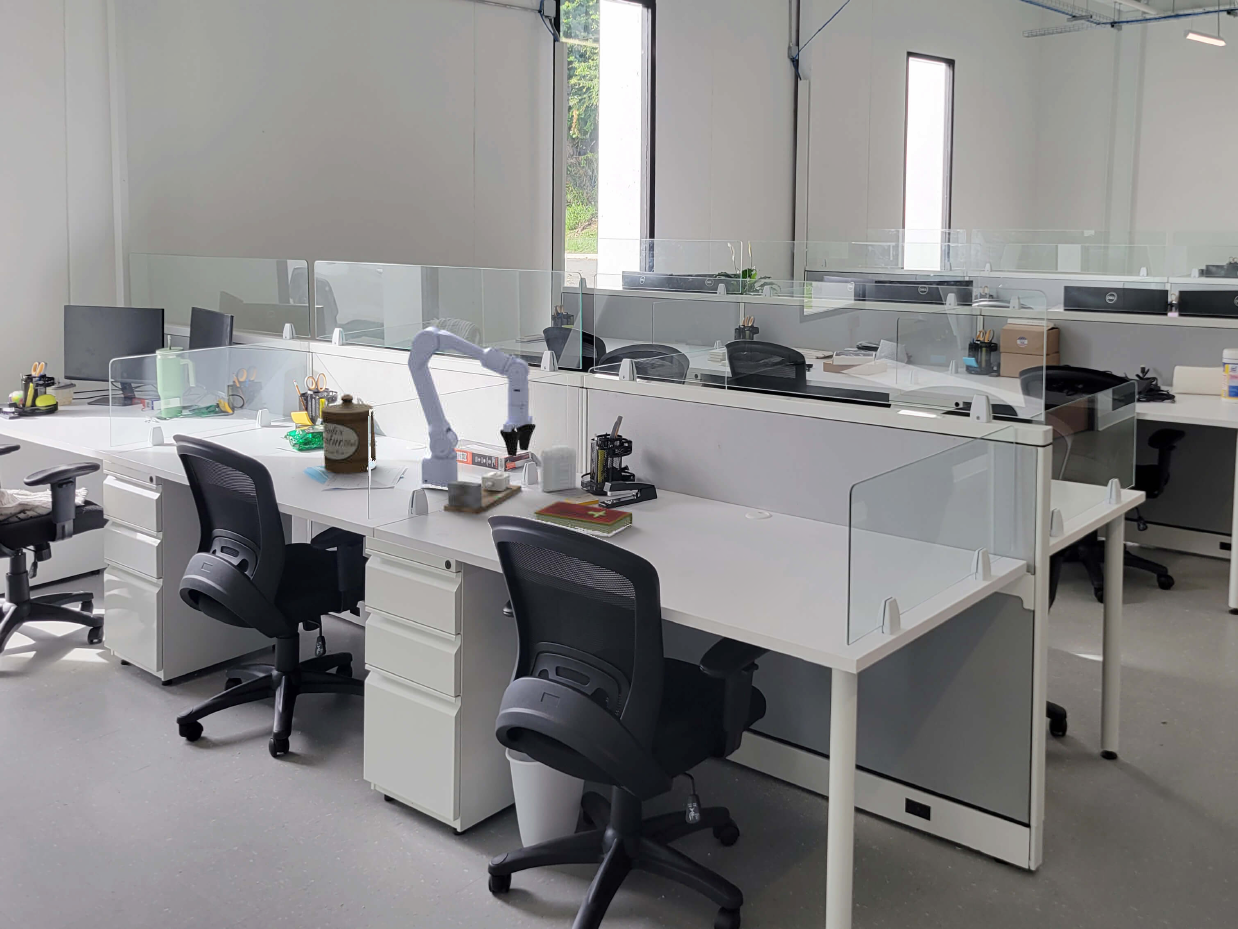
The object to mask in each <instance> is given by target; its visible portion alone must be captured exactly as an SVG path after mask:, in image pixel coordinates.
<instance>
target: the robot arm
mask: <svg viewBox="0 0 1238 929" xmlns="http://www.w3.org/2000/svg"><path fill="white" fill-rule="evenodd" d="M438 350H439V351H447V350H448V351H449V350H453V351H456V352H458V353H461V354H464V355H465V356H469V357H471V358H474V359H475V360H478V361H479V362H480V364H481V366H482V368H485V369H487V370H489V371H492V372H493V373H496V374H499V375H501V376H502V377H506V378H507V380H508V384H507V385H508V386H507V419H506V421H505V422H504V424H503V425H502V426H503V427H502V429H500V431H499V434H500V435H501V437H502V439H503V441H504V443H505V449H506V452H507V455H508V456H511V457H516V456H517V453H518V447H519V450H520V451H528V450H529V446H530V442H531V439H532V435H533V433H534V431H535V429H536V424H534V423H533V415H529V414H530V413H529V412H530V411H529V404H530V403H529V400H530V398H529V396H530V392H529V391H530V388H529V378H528V377H529V375H530V368H531V367H530V366H529V364H528V362H527V361H525V360H524V359H523V358H521V357H518V358H516V355H513V354H512V356H511V355H509V354H506V353H504V352H502V351H501V349H500V347H497V346H495V347H494V348H493V347H491V346H490V347H488V348H482V347H480V346H478V345H476V344H474V343H472V342H470V341H468V340H466V339H464V338H463V337H460V336H458V335H456V334H454V333H452V332H450V331H448V330H445V329H440V328H439V327H436V326H429V327H426V328H424V329H423V330H421V331H419V332H417V334H416V335H415V337H414V338H413V340H412V341H411V347H410V352H409V356H408V359H407V367H408V369H409V372H410V375H411V378H412V381H413V384H414V387H415V390H416V394H417V396H418V399H419V401H420V402H419V403H420V404H421V407H422V411H423V413H424V416H425V420H426V422H427V425H428V426H427V427H428V436H429V446H428V447H429V450H430V453H429V454H425V455H424V456H423V458H422V460H421V461H422V462H421V485H422V484H431V485H435V486H441V487H447V488H448V483H449V482H451V481H453V480H455V481H459V478H458V475H459V474H458V469H459V468H458V452H457V451H456V449H455V448H457V446H458V444H459V437H458V434H457V433H456V431H454V430H453V428H452V427H451V424H450V423H449V421H448V420H447V418H446V416H445V413H444V410H443V407H442V404H441V400H440V398H439V395H438V393H437V389H436V386H435V382H434V380H433V377H432V374H431V370H430V368H429V366H428V365H429V362H430V360H431V359H432V357H433V356H434V354H435V353H436V352H437V351H438ZM518 445H519V446H518Z"/></svg>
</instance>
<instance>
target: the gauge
mask: <svg viewBox="0 0 1238 929" xmlns="http://www.w3.org/2000/svg"><path fill="white" fill-rule="evenodd" d="M510 477H511V475H510V473H509V474H508V473H503V472H502V471H501V472H500V471H490V472H488V473H486V474H483V475H481V486H482V489H486V490H495V491H503V490H505V489H512V488H509V487H510V485H511V482H510V481H511V478H510Z"/></svg>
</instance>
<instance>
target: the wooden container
mask: <svg viewBox="0 0 1238 929" xmlns="http://www.w3.org/2000/svg"><path fill="white" fill-rule="evenodd" d="M340 400H341V403H337V404H330V405H326V406H324V407H322V408H321V416H322V417H321V418H322V427H323V428H322V432H323V433H322V434H323V441H322V442H323V456H324V457H323V458H324V470H326V471H328V472H330V473H335V474H358V473H365V472H368V471H367V467H368V416H369V409H373V411H372V412H371V458H372V461H373V460H374V461H375V460H376V461H377V455H376V454H377V452H376V451H377V450H376V449H377V448H376V436H375V423H374V408H373V406H372V405H371V404H365V403H354V402H353V400H354V396H353V395H351V394H349V393H345V394H343V395H342V396H341V397H340Z"/></svg>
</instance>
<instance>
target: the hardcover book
mask: <svg viewBox="0 0 1238 929" xmlns="http://www.w3.org/2000/svg"><path fill="white" fill-rule="evenodd" d="M533 514H534V515H535V516H536V519H537V520H541V521H545V522H551V523H554V524H558V525H562V526H566V527H570V528H574V529H578V528H575V527H579V528H583V529H587V530H592V531H599V532H602V533H607V534H610V533H612V532H613V531H616V530H618V529H620V528H622V527H625V526H627V525H629V524H632V525H633V512H631V511H624V510H617V509H613V508H605V507H599V506H593V505H585V504H579V503H572V502H567V501H555V502H553V503H550V504H549V505H547V506H545V507H542V508H539V510H536V511H534V512H533ZM569 525H570V526H569ZM583 531H584V530H583Z"/></svg>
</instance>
